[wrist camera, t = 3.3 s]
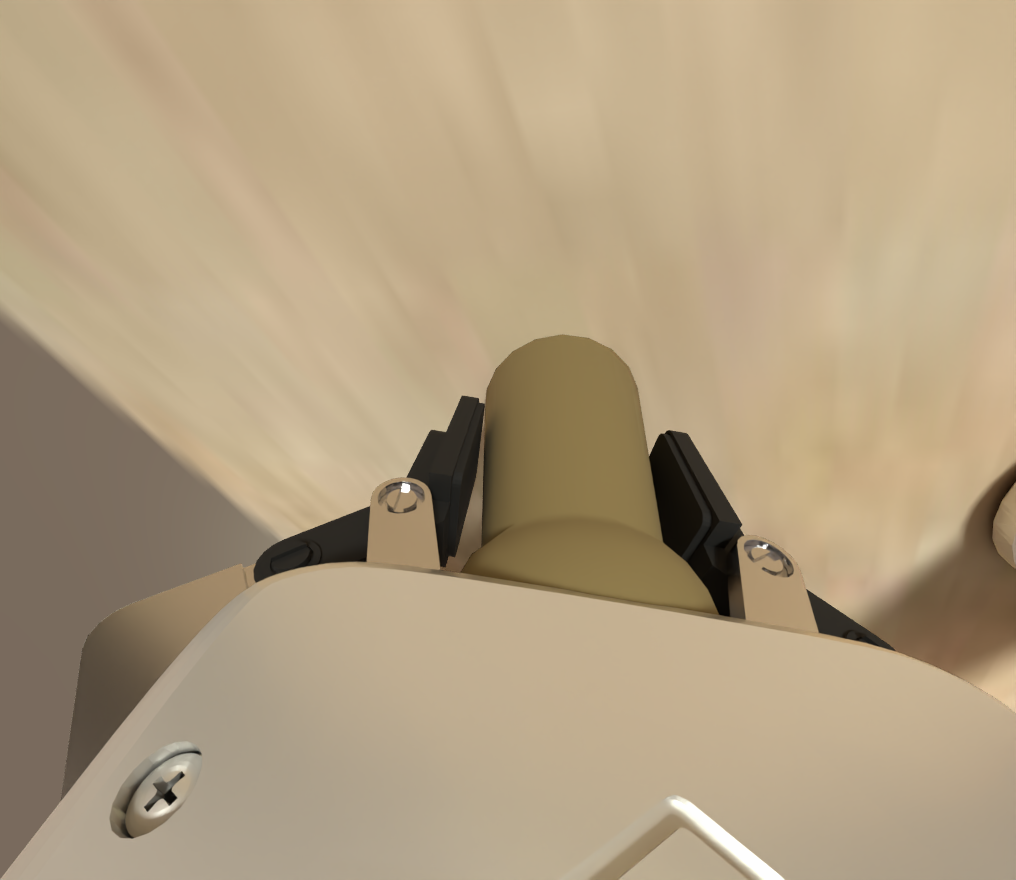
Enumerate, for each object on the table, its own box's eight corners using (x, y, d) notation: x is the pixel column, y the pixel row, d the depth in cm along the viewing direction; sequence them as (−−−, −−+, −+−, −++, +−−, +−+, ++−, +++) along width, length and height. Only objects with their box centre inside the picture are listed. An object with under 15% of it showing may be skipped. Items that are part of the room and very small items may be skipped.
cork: (515, 482, 17) (478, 822, 8) (460, 365, 14) (290, 695, 5) (650, 450, 15) (810, 833, 6) (621, 309, 12) (850, 646, 3)
